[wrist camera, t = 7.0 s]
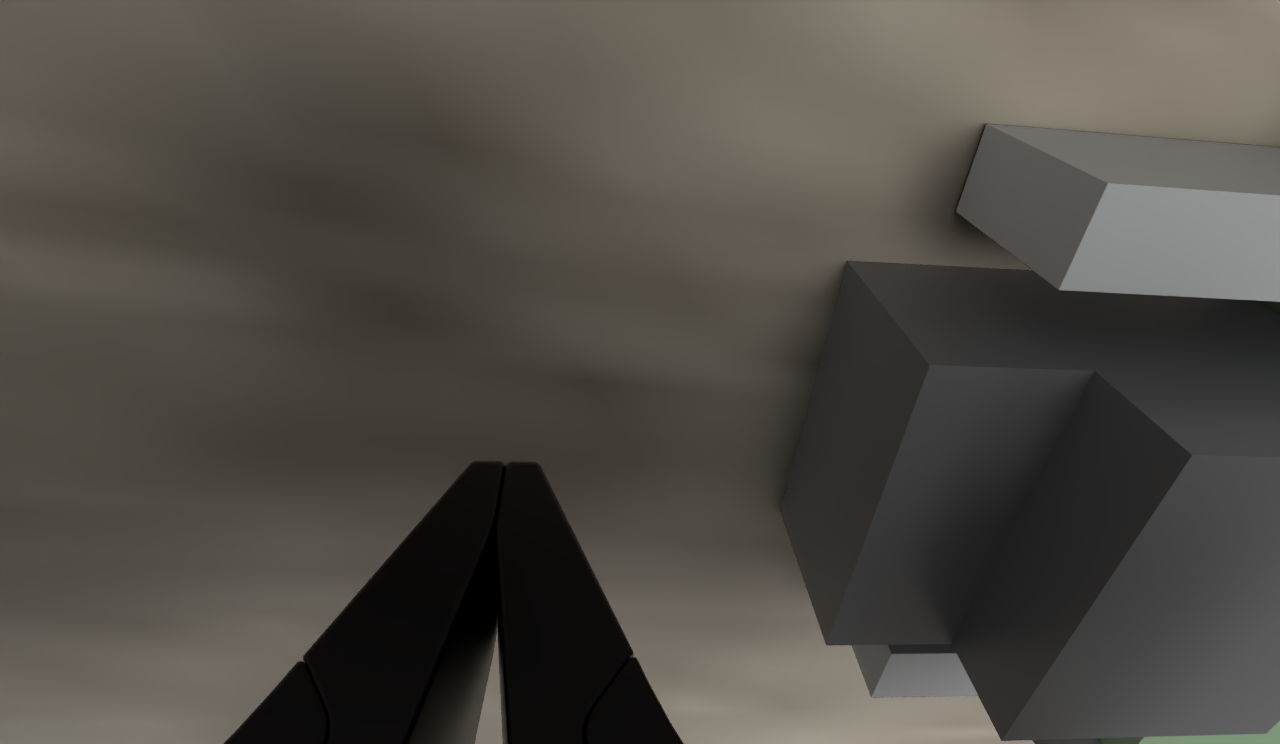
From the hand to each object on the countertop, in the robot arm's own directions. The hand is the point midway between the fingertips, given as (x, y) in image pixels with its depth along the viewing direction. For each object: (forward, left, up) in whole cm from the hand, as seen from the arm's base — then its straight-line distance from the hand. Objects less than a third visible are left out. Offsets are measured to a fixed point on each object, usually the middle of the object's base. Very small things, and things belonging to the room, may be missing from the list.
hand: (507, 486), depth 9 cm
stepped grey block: (0, -8, -3) cm, 8 cm away
